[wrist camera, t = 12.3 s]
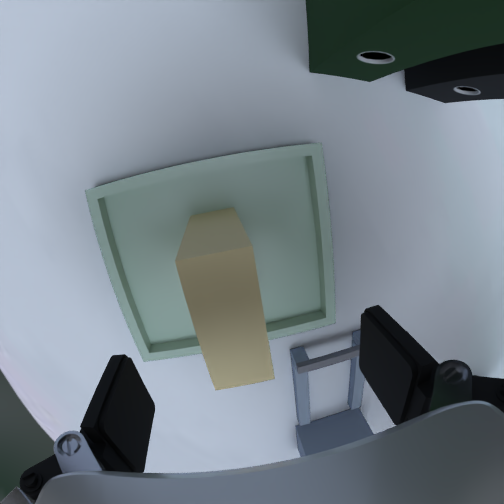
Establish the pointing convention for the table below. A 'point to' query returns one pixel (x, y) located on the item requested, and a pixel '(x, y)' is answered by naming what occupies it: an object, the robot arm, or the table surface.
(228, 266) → the block
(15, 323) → the table surface
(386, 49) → the pair of upright books
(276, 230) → the tray
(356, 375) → the dispenser
